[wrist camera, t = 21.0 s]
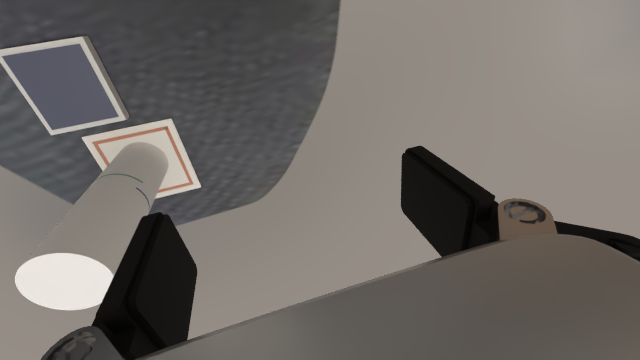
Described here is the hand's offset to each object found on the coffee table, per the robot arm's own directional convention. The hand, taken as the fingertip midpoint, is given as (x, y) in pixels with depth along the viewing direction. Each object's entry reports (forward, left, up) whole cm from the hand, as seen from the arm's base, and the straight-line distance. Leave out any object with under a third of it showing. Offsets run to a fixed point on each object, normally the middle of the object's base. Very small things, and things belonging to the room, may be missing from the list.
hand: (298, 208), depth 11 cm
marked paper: (+12, -20, -38) cm, 45 cm away
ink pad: (-2, -24, -38) cm, 46 cm away
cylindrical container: (+11, -21, -38) cm, 45 cm away
